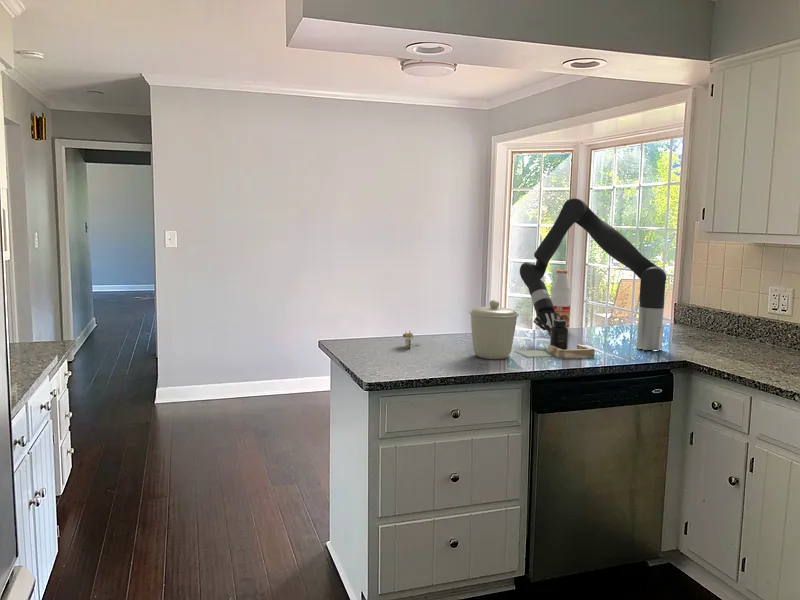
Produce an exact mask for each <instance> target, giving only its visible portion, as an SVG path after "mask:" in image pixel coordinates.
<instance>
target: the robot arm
mask: <svg viewBox="0 0 800 600" xmlns="http://www.w3.org/2000/svg"><path fill="white" fill-rule="evenodd" d="M573 224H577V225H578V226H579V227H581V228H582V229H584V231H586V232H587V234H589V236H590V237H591V238H592V240H594V242H595V243H596V244H597V246H599V247H600V248H601V250H603V251H604V252H605V253H606V254H607V255H609V256H610V257H611V258H612V259H614V260H615V261H617V262H619V263H620V264H622V265H624V266H625V267H626V268H628V269H629V270H631V271H632V272H633V274H635V275H636V276H637V278H639V279H640V285H639V299H638V300H639V306H638V307H639V308H638V320H637V331H636V333H637V334H636V346H635V349H637V348H639V349H644V350H660V349H661V348H662V349H663V342H664V341H663V340H664V339H663V338H664V327H665V326H663V323H664V322H663V320H664V310H665V309H664V308H665V291H666V284H667V283H666V282H667V274H666V272H665V271H664V270H663V269H662V268H661V267H660V266H657V265H656V264H655V263H654V262H652V261H651V260H650V259H648V258H646V257H645V256H644V255H643V254H642V253H641V252H640V251H639V250H638V249H637V248H636V247H635V246H634V245H633V244H632V243H631V242H630V240H628V239H627V237H625V236H624V235H623V234H621V233H620V232H619V231H618V230H617V229H615V228H614V227H613V226H611V225H610V224H608V223H607V222H605V221H604V220H603V219H601V218H600V217H599V216H597V215H596V214H595V212H594V211H593V210H592V209H591V208H590V207H589V206H588V205H587V204H586V202H585V201H584V200H582V199H580V198H577V197H572V198H569V199H567V200H565V201H564V203H563V205H562V207H561V210H560V212H559V214H558V216H557V218H556V220H555V222H554V223H553V226H552V227H551V229H550V230H549V231H548V233H547V234H546V236H545V237H544V238H543V240H542V241H541V243H540V245H538V247H537V248H536V250H535V252H534V253H533V256H534V258H535V259H536V262H535V264H534V263H533V262H530V261H529V262H528V261H526V262H525V261H524V263H522V264H520V265H521V266H519V267H520V268H519V275H520V278H521V280H522V281H523V283H524V284H525V286H526V288H527V289H528V292H529V294H530V299H531V303H532V305H533V308H534V311H535V314H536V317H534V319H533V323H534V324H535V325H536V326H537V327H538V328H540V329H541V330H542V331H547V332H548V335H549V336H550V335H551V328H552V327H553V326H554V325H553V323H554V320H563V317H561V318H560V317H558V316H557V314H556V313H555V310H554V306H553V303H552V301H551V294H550V293H549V292H548V290H547V287H546V284H545V282H544V281H543V280H542V279H543V278H544V276H545V273H546V270H547V268H548V265H549V262H550V261H551V259H552V258H553V256H554V255H555V253H556V252H557V251H558V249H559V247H560V246H561V243H562V241H563V239H564V238H565V236H566V234H567V233H568V231H569V230H570V229H571V228H572V226H573ZM639 349H638V350H639ZM644 350H643V351H644ZM660 351H661V350H660Z"/></svg>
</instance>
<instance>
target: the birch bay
mask: <svg viewBox="0 0 800 600" xmlns="http://www.w3.org/2000/svg"><path fill="white" fill-rule="evenodd" d="M595 352H596V349H594V348H591V347H588V346H586V345H583V344H577V345H576V348H574V349H568V350H562V349H560V348H557V347H555V346H552V345H550V344H548V345H547V354H549V355H552V356H554V357H556V358H558V359H560V358H561V360H562V359H588V358H587V357H594V358H595V354H596V353H595Z"/></svg>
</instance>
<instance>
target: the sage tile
mask: <svg viewBox="0 0 800 600" xmlns="http://www.w3.org/2000/svg"><path fill="white" fill-rule="evenodd" d="M515 353H517V354H520V355H521V356H523V357H526V358H550V357H552V356H553V355H551V354H549V353H548V352H545V351H542V350H539V349H537V350H536V349H535V350H534V349H533V350H515Z"/></svg>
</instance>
